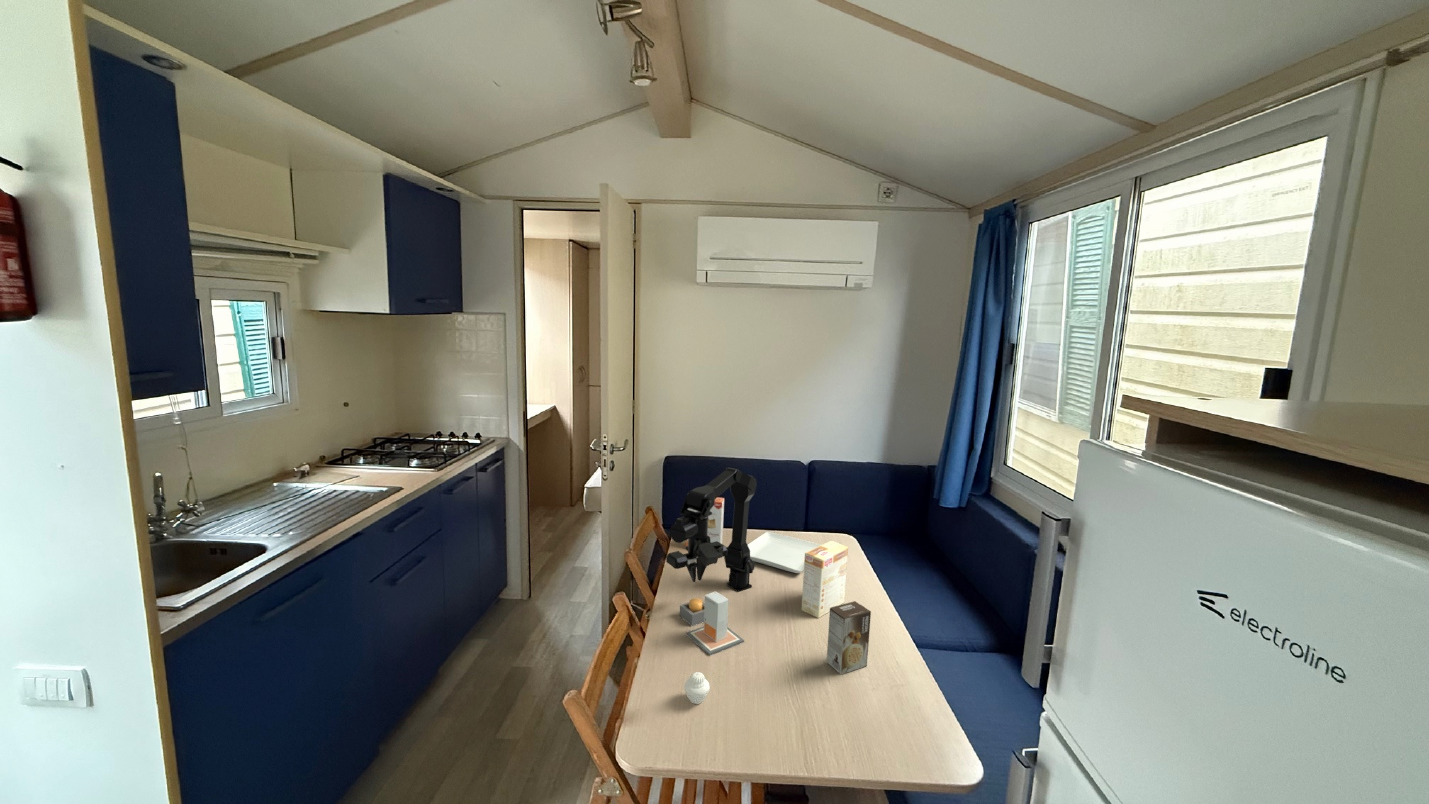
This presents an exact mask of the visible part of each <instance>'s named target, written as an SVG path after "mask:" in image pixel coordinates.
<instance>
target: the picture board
mask: <svg viewBox="0 0 1429 804" xmlns="http://www.w3.org/2000/svg"><path fill="white" fill-rule="evenodd" d="M703 630H704V625H703V626H701V627H698V628H695V629H693V630H689V631H686V632H685V635H686V636H687V638H689V639H690V640H691V641H692V642H694V643H695V644H696V645H697V646H698V647H699V648H701V649H702V650H703V651H704V652H705V654H707V655H708V656H712V655H715V654H718V653H719V652H720V653H721V652H722V650H723V651H725V650H727V649H730V648H733V647H735V646H737V645H738V646H739V645H740V643H741V644H743V643H745V640H744V639H743V638H742V637H741V636H740V635H739V634H737V633H736V632H734V631H733V630H732V629H731V628H729V627H728V626H727V638H725V639H723V640H720V641H718V642H715V641H714V640H713V639H711V638H710V637H709V636H707V635H706V634H704V633H703Z"/></svg>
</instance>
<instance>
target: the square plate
mask: <svg viewBox="0 0 1429 804" xmlns="http://www.w3.org/2000/svg"><path fill="white" fill-rule="evenodd" d="M747 545H748V547H749V549H750V558H751V560H752V561H753V562H754V563H758V564H763V565H765V566H769V567H772V568H776V569H780V570H782V571H787V572H791V573H795V574H801V573H802V572H804V560H805V553H806V552H808V551H810V550H812V549H814V548H817V547H819V546H821V545H822V544H821V543H816V542H813V541H809V540H805V539H802V538H798V537H794V536H790V535H786V534H781V533H776V532H770V531H765V532H764V533H762V534H761V535H760V536H758V537H756V538H755V539H753V540H752V541H751V542H748V543H747Z"/></svg>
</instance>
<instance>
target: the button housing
mask: <svg viewBox="0 0 1429 804" xmlns="http://www.w3.org/2000/svg"><path fill="white" fill-rule="evenodd" d="M704 606H705V602H704V601H702V610H701V611H698V612H695V613H693V612H692V611H690V610H689V601H688V602H685V603H682V604H679V617H681V618H682V619H683V620H684V621H685V622H686V621H687V623H688V625H690V626H691V627H694V626H697V625H699V624H703V623H704ZM702 622H703V623H702ZM696 624H697V625H696Z"/></svg>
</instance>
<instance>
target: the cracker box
mask: <svg viewBox="0 0 1429 804" xmlns="http://www.w3.org/2000/svg"><path fill="white" fill-rule="evenodd" d="M687 510H690V511H694V512H697V511H696V510H693V509H689V508H688V509H687ZM710 511H711V512H712V515H710V516H708V536H709V537H710V539H711V541H710V542H711V543H712V542H716V541H718V542H719V543H721V544H723V536H724V535H723V533H724V512H725V497H719V496H718V497H717V498H716V499H715V505H714V506H713V507H712V508H711V509H710ZM686 546H688V540H686V541H685V547H686Z"/></svg>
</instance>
